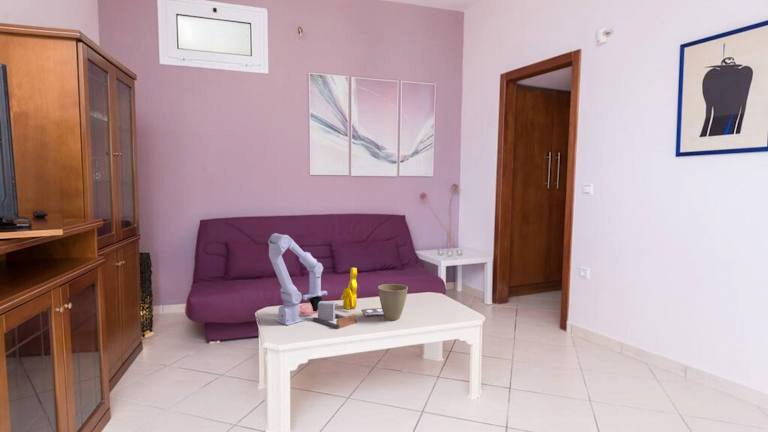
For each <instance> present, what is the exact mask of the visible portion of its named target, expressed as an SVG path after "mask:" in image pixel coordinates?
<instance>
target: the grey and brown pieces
mask: <svg viewBox="0 0 768 432" xmlns="http://www.w3.org/2000/svg"><path fill="white" fill-rule="evenodd" d="M356 316H357V315H356V314H351V315H347V316H345V315H342V314H339V313H335V319H336V318H337V319H336V320H335V321H336V323H335V322H331V321H329V320H322V319H319V318H318V317H313V318H312V321H313V322H316V323H319V324H321V325H325V326H328V327H330V328H334V329H337V330H339V329H341V328H345V327H348V326H351V325H352V326H353V325H354V324H357V323H358V322H357V321H358V320H357V317H356Z"/></svg>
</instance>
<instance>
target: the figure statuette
mask: <svg viewBox="0 0 768 432" xmlns="http://www.w3.org/2000/svg"><path fill="white" fill-rule="evenodd" d="M349 273H350V275H349V276H350V280H349V283H348V286H346V287H345V288H344V289H343V292H342V295H341V297H340V300H341V301H343V303H342V305H343V309H346V310H350V309H356V308H357V297H358V296H357V290H358V283H357V276H358V270H357V267H350V271H349Z"/></svg>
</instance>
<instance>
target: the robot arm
mask: <svg viewBox="0 0 768 432" xmlns="http://www.w3.org/2000/svg"><path fill="white" fill-rule="evenodd" d="M267 243H268V245H269V246H268V249H269V250H268V257H269V260H270V262H271V265H272V267H273V269H274V272H275V274H276V277H277V279H278V281H279V284H280V286H281V288H280V289H279V291H280V298H281V299H282V300H283V304H282V305H281V306H280V305H279V308H278V320H277V323H280V324H283V325H286V326H289V325H294V324H296V323H300V322H303V319H301V318H300V303H301V301H302V300H305V301H307V300H308V301H309V303H310V304H311V309H312V311H313V312H314V313H315V312H318V303H319V302H320V301H323V300H322V299H323V297H322V296H327V295H328V291H327V290H322V286H321V285H322V277H321V276H322V274H323V270H324V267H323V264H322V263H321V262H319V261H318V260H317V258H314V257H313V256H312V254H311V252H308V251H303V249H302V248H301V247H300V246H299V245H298V244H297V243H296V242H295V241H294V239H293V238H292V237H290V236H289V235H288V234H280V233H272V234H271V236H270V237H269V239H268V241H267ZM288 249H289V250H290V251H291V252H292V253H294V254H295V255H297V256H298V259H299V262H300V263H301V264H303V265H304V267H306V270H307V271H308V272H309V292H308V293H307V294H303V295H302V292H300V291H298V288H297V286H295V285H294V284H293V281H292V279H291V277H290V274H289V271H288V269H287V266H286V263H285V261H284V258H283V254H284V253H285V251H286V250H288Z"/></svg>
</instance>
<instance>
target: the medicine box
mask: <svg viewBox="0 0 768 432" xmlns="http://www.w3.org/2000/svg"><path fill="white" fill-rule="evenodd" d="M335 314H336V301H333V300H332V301H331V300H329V301H327V300H326V301H325V300H321V301H320V302H319V303H318V311H317V318H319V319H322V320H325V321H329V322H331V321H332V322H333V321H335V319H336V317H335Z"/></svg>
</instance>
